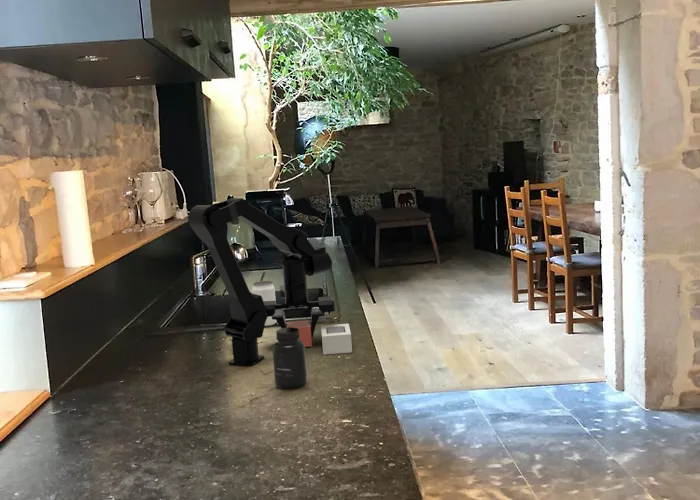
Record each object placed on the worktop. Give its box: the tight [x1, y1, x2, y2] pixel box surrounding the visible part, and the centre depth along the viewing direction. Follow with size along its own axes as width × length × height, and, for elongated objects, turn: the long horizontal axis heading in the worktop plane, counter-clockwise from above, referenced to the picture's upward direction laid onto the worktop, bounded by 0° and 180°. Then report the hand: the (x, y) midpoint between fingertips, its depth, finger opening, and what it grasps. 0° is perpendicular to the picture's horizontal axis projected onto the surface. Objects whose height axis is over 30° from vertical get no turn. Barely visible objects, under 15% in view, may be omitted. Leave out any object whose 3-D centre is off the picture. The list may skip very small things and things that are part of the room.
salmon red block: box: [286, 319, 313, 348], centre depth 175 cm, size 7×6×5 cm
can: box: [251, 280, 278, 327], centre depth 198 cm, size 6×6×12 cm
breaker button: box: [327, 327, 344, 334], centre depth 171 cm, size 5×4×3 cm
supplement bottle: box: [272, 327, 308, 391], centre depth 146 cm, size 7×7×12 cm
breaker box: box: [320, 323, 353, 356], centre depth 171 cm, size 10×7×4 cm
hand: (299, 339), depth 176 cm, fingers closed on salmon red block, 6 cm apart
